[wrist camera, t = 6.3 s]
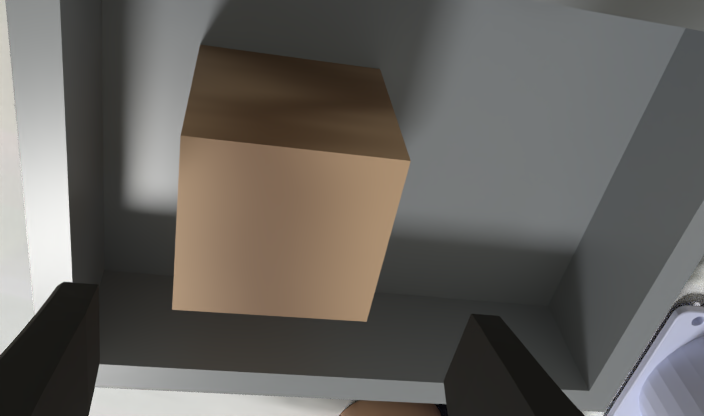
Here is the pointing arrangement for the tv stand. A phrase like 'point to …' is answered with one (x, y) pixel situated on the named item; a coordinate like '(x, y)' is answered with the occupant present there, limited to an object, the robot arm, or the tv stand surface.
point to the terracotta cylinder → (390, 409)
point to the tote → (418, 192)
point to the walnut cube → (285, 186)
